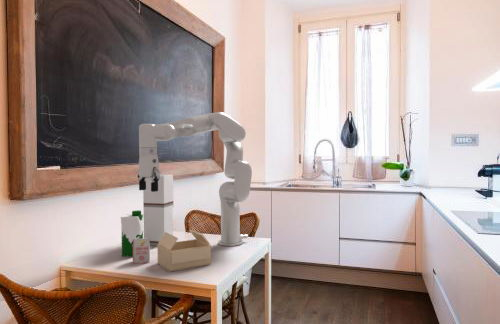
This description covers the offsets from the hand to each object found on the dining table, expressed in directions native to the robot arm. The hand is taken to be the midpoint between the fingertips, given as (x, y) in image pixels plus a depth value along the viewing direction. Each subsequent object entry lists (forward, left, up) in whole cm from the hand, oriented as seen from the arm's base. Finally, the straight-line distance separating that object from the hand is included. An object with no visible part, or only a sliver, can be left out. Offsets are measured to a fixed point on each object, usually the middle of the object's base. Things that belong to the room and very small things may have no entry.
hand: (148, 190), depth 170 cm
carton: (-9, +17, -30) cm, 36 cm away
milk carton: (+5, -10, -30) cm, 32 cm away
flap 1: (0, +17, -22) cm, 28 cm away
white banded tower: (-13, -26, -30) cm, 42 cm away
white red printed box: (+5, +4, -30) cm, 31 cm away
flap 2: (-18, +17, -22) cm, 33 cm away
